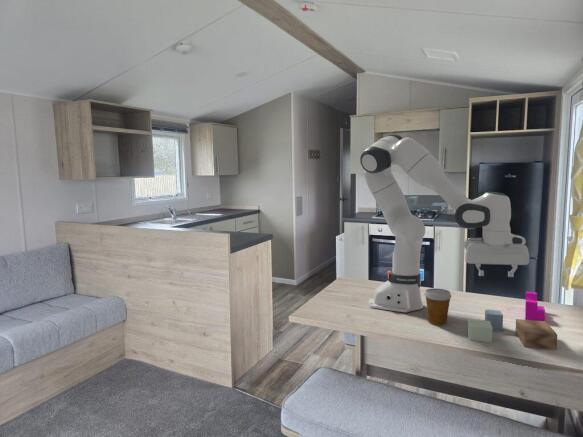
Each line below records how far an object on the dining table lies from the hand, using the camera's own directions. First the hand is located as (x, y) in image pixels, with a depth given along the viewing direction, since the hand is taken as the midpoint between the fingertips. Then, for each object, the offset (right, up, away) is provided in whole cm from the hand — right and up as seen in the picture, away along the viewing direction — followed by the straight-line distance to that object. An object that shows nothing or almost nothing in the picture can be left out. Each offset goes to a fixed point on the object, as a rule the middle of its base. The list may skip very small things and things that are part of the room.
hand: (495, 276), depth 142 cm
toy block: (+23, -18, +15) cm, 32 cm away
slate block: (0, -19, +2) cm, 19 cm away
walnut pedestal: (+8, -20, -10) cm, 24 cm away
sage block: (-9, -20, -6) cm, 23 cm away
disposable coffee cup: (-18, -19, +9) cm, 27 cm away
